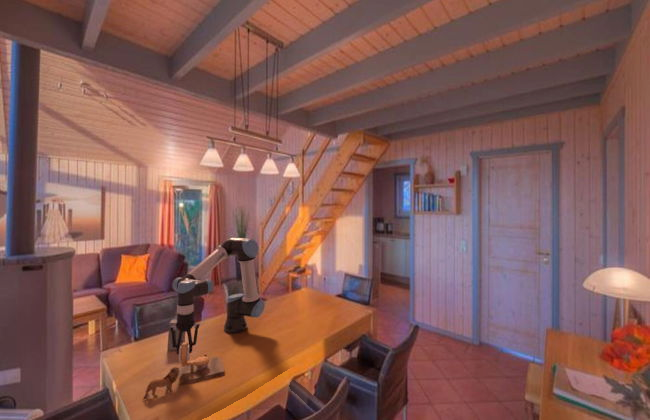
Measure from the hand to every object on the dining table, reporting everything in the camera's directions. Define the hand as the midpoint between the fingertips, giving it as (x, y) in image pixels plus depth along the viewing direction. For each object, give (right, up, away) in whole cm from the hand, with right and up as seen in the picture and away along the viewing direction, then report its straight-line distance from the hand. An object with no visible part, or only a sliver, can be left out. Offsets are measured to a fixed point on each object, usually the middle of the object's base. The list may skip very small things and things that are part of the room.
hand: (184, 359), depth 141 cm
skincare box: (-18, -7, +27) cm, 33 cm away
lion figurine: (-3, -7, -14) cm, 16 cm away
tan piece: (+5, -3, +2) cm, 6 cm away
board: (+7, -7, +3) cm, 11 cm away
